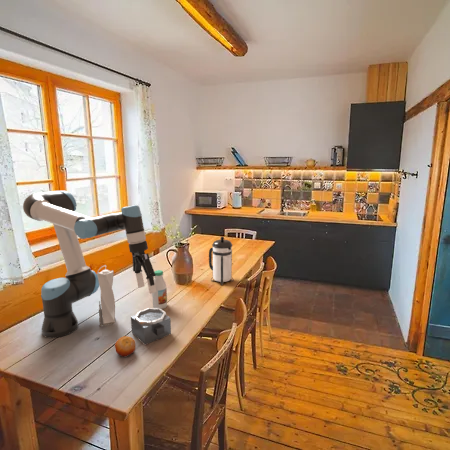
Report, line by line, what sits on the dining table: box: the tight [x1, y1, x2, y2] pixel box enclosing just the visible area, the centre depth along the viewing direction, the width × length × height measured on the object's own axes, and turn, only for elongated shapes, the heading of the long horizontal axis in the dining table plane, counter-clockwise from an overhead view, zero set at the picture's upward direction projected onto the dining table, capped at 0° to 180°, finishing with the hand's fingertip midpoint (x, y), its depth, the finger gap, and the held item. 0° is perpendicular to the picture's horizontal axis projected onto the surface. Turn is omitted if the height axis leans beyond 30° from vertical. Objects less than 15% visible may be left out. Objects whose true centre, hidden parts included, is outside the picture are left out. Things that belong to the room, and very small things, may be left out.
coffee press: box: [208, 236, 234, 286], centre depth 203 cm, size 17×16×30 cm
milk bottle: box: [151, 269, 168, 310], centre depth 168 cm, size 8×8×20 cm
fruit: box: [114, 335, 136, 358], centre depth 128 cm, size 8×8×8 cm
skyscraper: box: [96, 264, 116, 327], centre depth 152 cm, size 8×8×28 cm
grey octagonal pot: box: [130, 307, 172, 345], centre depth 142 cm, size 13×15×9 cm
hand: (147, 289), depth 135 cm, fingers open, 13 cm apart
